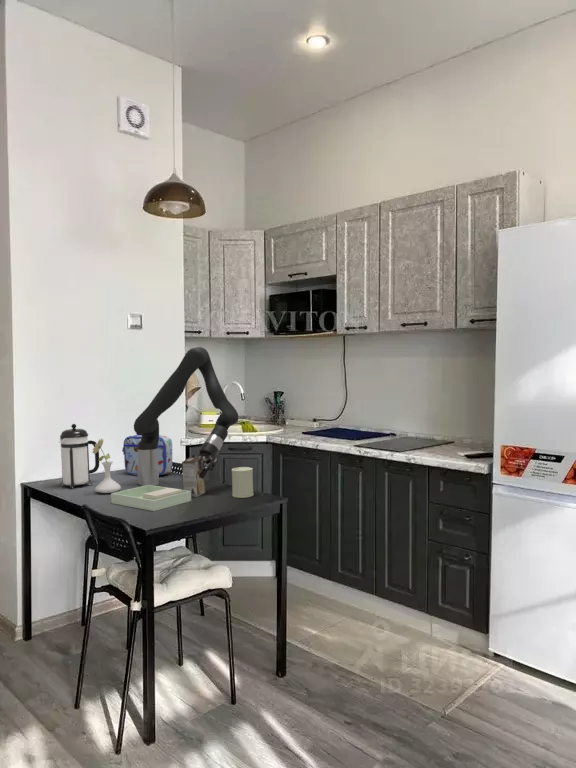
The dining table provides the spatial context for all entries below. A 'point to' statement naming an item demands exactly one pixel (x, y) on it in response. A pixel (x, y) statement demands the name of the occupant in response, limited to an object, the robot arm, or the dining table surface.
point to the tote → (135, 499)
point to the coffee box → (193, 476)
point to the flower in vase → (107, 483)
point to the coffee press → (76, 457)
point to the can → (242, 482)
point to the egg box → (161, 493)
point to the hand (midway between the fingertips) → (193, 476)
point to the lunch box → (132, 454)
